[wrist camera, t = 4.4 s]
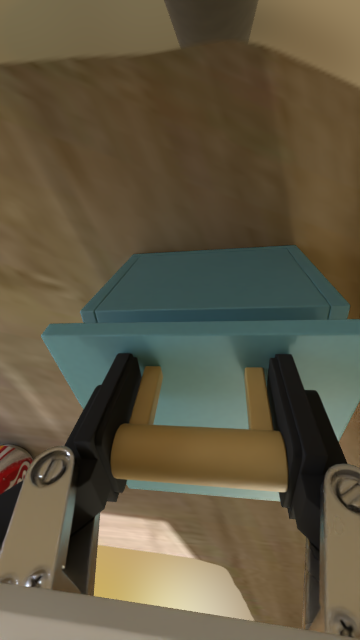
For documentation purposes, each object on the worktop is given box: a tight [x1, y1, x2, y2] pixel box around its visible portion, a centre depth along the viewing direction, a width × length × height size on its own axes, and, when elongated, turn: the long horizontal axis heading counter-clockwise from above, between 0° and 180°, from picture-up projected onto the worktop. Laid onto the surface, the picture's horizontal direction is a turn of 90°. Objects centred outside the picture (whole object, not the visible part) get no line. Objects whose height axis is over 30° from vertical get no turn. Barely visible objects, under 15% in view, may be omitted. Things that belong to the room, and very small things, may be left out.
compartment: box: [80, 245, 350, 323], centre depth 20 cm, size 15×13×10 cm
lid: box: [41, 319, 360, 501], centre depth 13 cm, size 15×13×5 cm
